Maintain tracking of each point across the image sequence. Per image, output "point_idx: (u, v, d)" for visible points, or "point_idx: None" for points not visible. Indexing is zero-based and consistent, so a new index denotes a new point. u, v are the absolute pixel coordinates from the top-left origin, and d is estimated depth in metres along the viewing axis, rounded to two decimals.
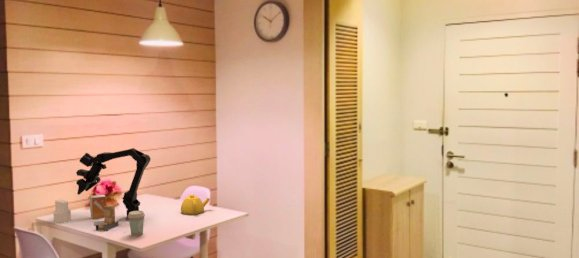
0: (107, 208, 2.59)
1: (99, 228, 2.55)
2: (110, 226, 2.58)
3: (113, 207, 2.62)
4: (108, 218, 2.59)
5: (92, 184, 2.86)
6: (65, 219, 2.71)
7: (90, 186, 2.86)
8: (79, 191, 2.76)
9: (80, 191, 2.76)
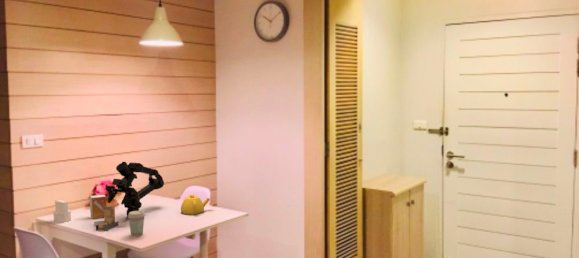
0: (107, 208, 2.59)
1: (99, 228, 2.55)
2: (110, 226, 2.58)
3: (113, 207, 2.62)
4: (108, 218, 2.59)
5: (113, 195, 2.71)
6: (65, 219, 2.71)
7: (112, 198, 2.70)
8: (124, 200, 2.65)
9: (125, 200, 2.66)
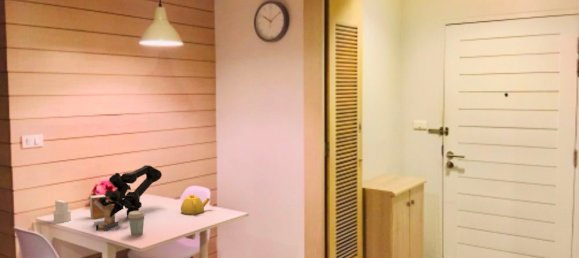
0: (107, 208, 2.59)
1: (99, 228, 2.55)
2: (110, 226, 2.58)
3: (113, 207, 2.62)
4: (108, 218, 2.59)
5: None
6: (65, 219, 2.71)
7: None
8: (114, 212, 2.61)
9: (114, 212, 2.61)
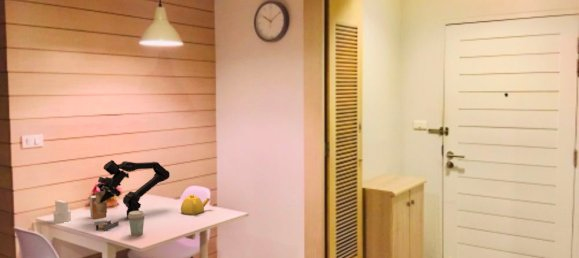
0: (97, 194, 2.63)
1: (99, 228, 2.55)
2: (110, 226, 2.58)
3: (104, 193, 2.65)
4: (98, 204, 2.63)
5: None
6: (65, 219, 2.71)
7: None
8: (104, 199, 2.64)
9: (105, 199, 2.64)
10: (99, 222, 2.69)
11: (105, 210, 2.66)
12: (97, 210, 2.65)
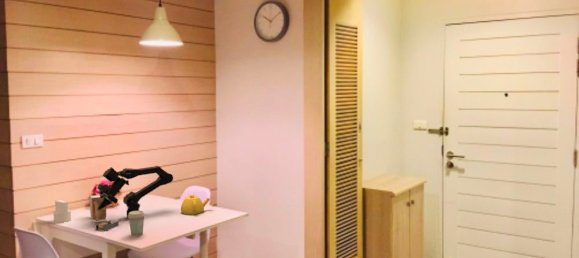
0: (96, 201, 2.66)
1: (99, 228, 2.55)
2: (110, 226, 2.58)
3: None
4: (96, 210, 2.66)
5: None
6: (65, 219, 2.71)
7: None
8: (102, 206, 2.66)
9: (103, 206, 2.66)
10: (99, 222, 2.69)
11: (104, 217, 2.68)
12: (96, 217, 2.67)
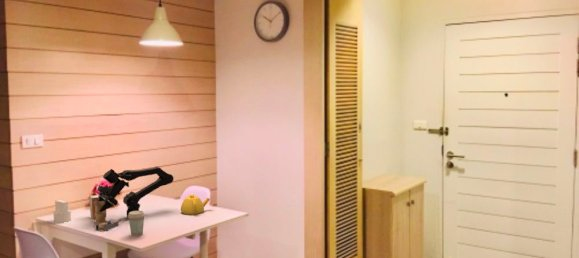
0: (96, 204, 2.66)
1: (99, 228, 2.55)
2: (110, 226, 2.58)
3: (103, 204, 2.67)
4: (96, 214, 2.66)
5: None
6: (65, 219, 2.71)
7: None
8: (103, 208, 2.64)
9: (104, 208, 2.64)
10: None
11: (104, 220, 2.68)
12: (96, 220, 2.68)
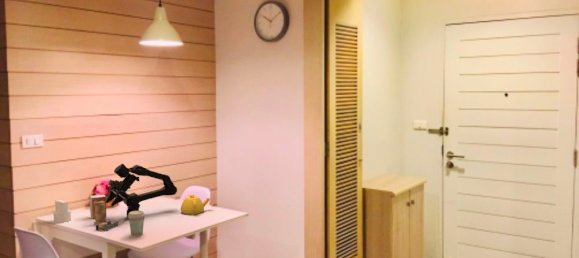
0: (96, 204, 2.66)
1: (99, 228, 2.55)
2: (110, 226, 2.58)
3: (103, 204, 2.67)
4: (96, 214, 2.66)
5: (114, 196, 2.78)
6: (65, 219, 2.71)
7: (112, 198, 2.77)
8: (115, 202, 2.68)
9: (116, 202, 2.68)
10: None
11: (104, 220, 2.68)
12: (96, 220, 2.68)
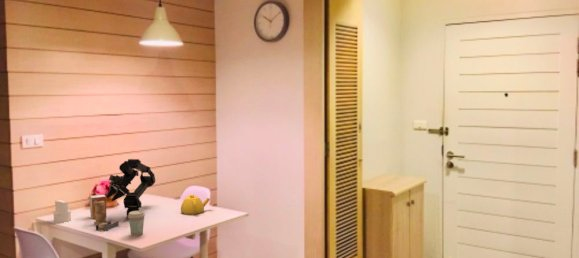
0: (96, 204, 2.66)
1: (99, 228, 2.55)
2: (110, 226, 2.58)
3: (103, 204, 2.67)
4: (96, 214, 2.66)
5: (114, 191, 2.77)
6: (65, 219, 2.71)
7: (112, 193, 2.76)
8: (115, 197, 2.67)
9: (116, 197, 2.67)
10: None
11: (104, 220, 2.68)
12: (96, 220, 2.68)
